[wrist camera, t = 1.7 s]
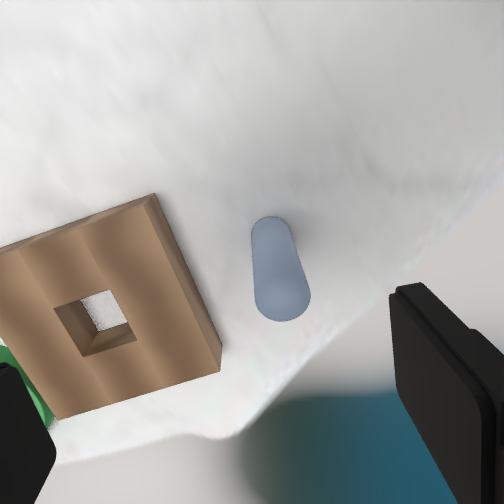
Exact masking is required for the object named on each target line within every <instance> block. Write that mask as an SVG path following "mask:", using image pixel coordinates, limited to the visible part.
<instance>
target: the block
mask: <svg viewBox="0 0 504 504" xmlns="http://www.w3.org/2000/svg"><path fill="white" fill-rule="evenodd" d="M109 289H110V290H111V292H112V294H113V295H114V297H115V299H116V301H117V303H118V305H119V307H120V309H121V310H122V312H123V314H124V316H125V318H126V320H127V322H128V323H125V324H122V325H118V326H115V327H112V328H109V329H106V330H103V331H100V332H98V330H97V329H96V327H95V325H94V324H93V322H92V320H91V318H90V317H89V315H88V313H87V311H86V310H85V308H84V306H83V304H82V303H81V301H80V299H83V298H86V297H89V296H92V295H95V294H98V293H101V292H104V291H107V290H109ZM0 337H1V338H2V339H3V341H4V342H5V344H6V345H7V347H8V348H9V350H10V351H11V353H12V354H13V355H14V357H15V358H16V360H17V361H18V363H19V364H20V366H21V367H22V369H23V370H24V372H25V373H26V374H27V376H28V377H29V379H30V380H31V382H32V383H33V385H34V386H35V388H36V389H37V390H38V392H39V393H40V395H41V396H42V398H43V399H44V401H45V402H46V404H47V405H48V406H49V408H50V409H51V411H52V412H53V414H54V415H55V417H56V418H57V420H61V419H65V418H68V417H71V416H74V415H78V414H81V413H84V412H88V411H91V410H94V409H98V408H101V407H104V406H107V405H111V404H114V403H117V402H121V401H124V400H127V399H131V398H134V397H137V396H140V395H144V394H147V393H150V392H154V391H157V390H160V389H164V388H167V387H170V386H173V385H177V384H180V383H183V382H187V381H190V380H193V379H197V378H200V377H203V376H206V375H210V374H213V373H216V372H220V367H221V354H222V343H221V341H220V339H219V337H218V334H217V332H216V330H215V328H214V325H213V323H212V321H211V319H210V316H209V314H208V312H207V310H206V308H205V305H204V303H203V301H202V299H201V296H200V294H199V292H198V290H197V287H196V285H195V283H194V281H193V278H192V276H191V274H190V272H189V270H188V267H187V265H186V263H185V261H184V258H183V256H182V254H181V252H180V249H179V247H178V245H177V243H176V240H175V238H174V236H173V234H172V232H171V229H170V227H169V225H168V223H167V220H166V218H165V216H164V214H163V211H162V209H161V207H160V205H159V202H158V200H157V198H156V196H155V194H154V193H153V194H150V195H147V196H145V197H142V198H139V199H136V200H133V201H131V202H128V203H125V204H122V205H119V206H117V207H114V208H111V209H108V210H105V211H103V212H100V213H97V214H94V215H91V216H89V217H86V218H83V219H80V220H77V221H75V222H72V223H69V224H66V225H63V226H61V227H58V228H55V229H52V230H49V231H47V232H44V233H41V234H38V235H35V236H33V237H30V238H27V239H24V240H21V241H19V242H16V243H13V244H10V245H7V246H5V247H2V248H0Z"/></svg>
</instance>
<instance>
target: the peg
mask: <svg viewBox="0 0 504 504" xmlns="http://www.w3.org/2000/svg"><path fill="white" fill-rule="evenodd" d="M251 242H252V259H253V276H254V294H255V303H256V306H257V308H258V310H259V311H260V312H261V314H263V315H264V316H265V317H267V318H269V319H271V320H274V321H289V320H292V319H295V318H297V317H298V316H300V315H301V314H302V313H303V312H304V311H305V310H306V309H307V307H308V305H309V303H310V298H311V294H310V289H309V286H308V283H307V280H306V277H305V274H304V271H303V268H302V265H301V262H300V259H299V256H298V253H297V250H296V247H295V244H294V241H293V238H292V235H291V233H290V230H289V227H288V225H287V224H286V223H285V222H284V221H283V220H281V219H279V218H277V217H266V218H263V219H261V220H259V221H258V222H257V223H256V224H255V225H254V227H253V229H252V232H251Z"/></svg>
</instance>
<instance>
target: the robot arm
mask: <svg viewBox="0 0 504 504" xmlns="http://www.w3.org/2000/svg"><path fill="white" fill-rule="evenodd" d="M389 307H390V320H391V331H392V343H393V355H394V367H395V378H396V387H397V391H398V394H399V397H400V399H401V401H402V403H403V404H404V406H405V408H406V410H407V412H408V414H409V415H410V417H411V419H412V421H413V423H414V424H415V426H416V428H417V430H418V432H419V433H420V435H421V437H422V439H423V441H424V442H425V444H426V446H427V448H428V450H429V452H430V453H431V455H432V457H433V459H434V461H435V462H436V464H437V466H438V468H439V470H440V471H441V473H442V475H443V477H444V478H445V480H446V482H447V484H448V486H449V488H450V489H451V491H452V493H453V495H454V496H455V498H456V500H457V502H458V504H504V355H503V354H502V353H501V352H500V351H499V350H498V349H497V348H496V347H495V346H494V345H493V344H492V343H490V341H489V340H487V339H486V338H485V337H484V336H483V335H482V334H481V333H480V332H478V331H477V330H476V329H469V328H468V327H467V326H466V325H465V324H464V323H463V322H462V321H461V320H460V319H459V318H458V317H457V316H456V315H455V314H454V313H453V312H452V311H451V310H450V309H448V307H446V305H444V303H443V302H442V301H440V300H439V299H438V298H437V297H436V296H435V295H434V294H433V293H432V292H431V291H430V290H429V289H428V288H427V287H426V286H425V285H424V284H423V283H421V282H419V283H414V284H408V285H403V286H398V287H397V288H396V291H395V293H393V294H390V295H389ZM55 460H56V447H55V445H54V443H53V441H52V439H51V437H50V434H49V432H48V430H47V428H46V426H45V424H44V422H43V420H42V418H41V416H40V414H39V412H38V410H37V408H36V406H35V404H34V401H33V399H32V397H31V395H30V393H29V391H28V389H27V387H26V385H25V383H24V381H23V379H22V377H21V375H20V373H19V371H18V369H17V368H16V367H13V366H11V365H10V364H8V363H6V362H2V363H0V504H34V503H35V501H36V499H37V497H38V495H39V493H40V491H41V489H42V487H43V485H44V483H45V481H46V479H47V477H48V475H49V473H50V471H51V469H52V467H53V465H54V463H55Z"/></svg>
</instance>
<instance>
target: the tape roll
mask: <svg viewBox="0 0 504 504" xmlns="http://www.w3.org/2000/svg"><path fill="white" fill-rule="evenodd" d="M2 362H6V363H8V364H10V365H11V366H13V367H16V368H17V369H18V371H19V373H20V375H21V377H22V379H23V381H24V383H25V385H26V387H27V389H28V391H29V393H30V395H31V397H32V399H33V401H34V404H35V406H36V408H37V410H38V412H39V414H40V416H41V418H42V420H43V422H44V424H45V426H46V428H48V426H49V425H50V423H51V421H52V420H53V418H54V414H53V412H52V411H51V409H50V408H49V406H48V405H47V404H46V402H45V401H44V399H43V398H42V396H41V395H40V393H39V392H38V390H37V389H36V388H35V386H34V385H33V383H32V382H31V380H30V379H29V377H28V376H27V374H26V373H25V372H24V370H23V369H22V367H21V366H20V364H19V363H18V361H17V360H16V358H15V357H14V355H13V354H12V353H11V351H10V350H9V348H8V347H5V346H2V345H0V363H2Z"/></svg>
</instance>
